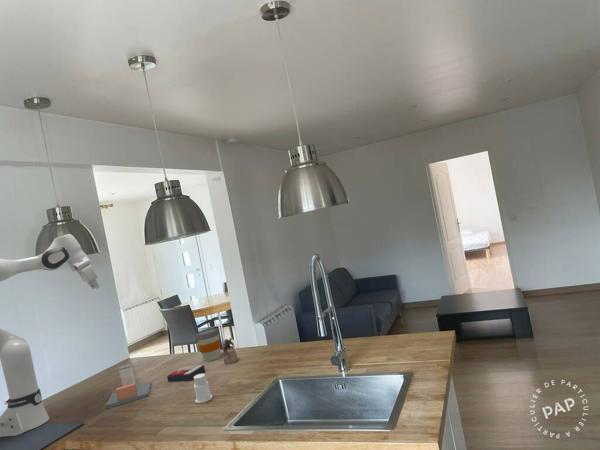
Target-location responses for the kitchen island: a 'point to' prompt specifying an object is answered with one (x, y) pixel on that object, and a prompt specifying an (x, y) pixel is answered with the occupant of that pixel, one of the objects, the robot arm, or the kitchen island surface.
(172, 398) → the kitchen island surface
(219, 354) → the reusable coffee cup
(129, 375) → the beige rectangular block
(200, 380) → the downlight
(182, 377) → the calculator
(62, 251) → the robot arm
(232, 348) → the figurine
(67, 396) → the kitchen island surface
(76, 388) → the kitchen island surface
